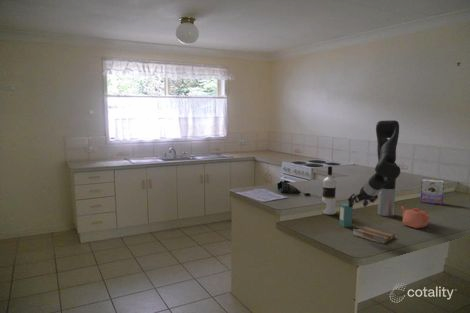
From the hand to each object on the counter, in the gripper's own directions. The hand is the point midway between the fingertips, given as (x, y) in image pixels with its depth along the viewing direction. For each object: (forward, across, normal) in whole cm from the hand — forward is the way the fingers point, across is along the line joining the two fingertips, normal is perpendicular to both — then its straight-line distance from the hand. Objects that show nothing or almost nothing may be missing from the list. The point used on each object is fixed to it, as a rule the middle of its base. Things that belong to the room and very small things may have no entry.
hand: (356, 205), depth 184 cm
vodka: (+34, -2, -14) cm, 37 cm away
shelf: (+4, -5, +16) cm, 17 cm away
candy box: (+40, -87, -20) cm, 98 cm away
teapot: (+12, -38, +9) cm, 41 cm away
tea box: (+17, 0, +3) cm, 17 cm away
